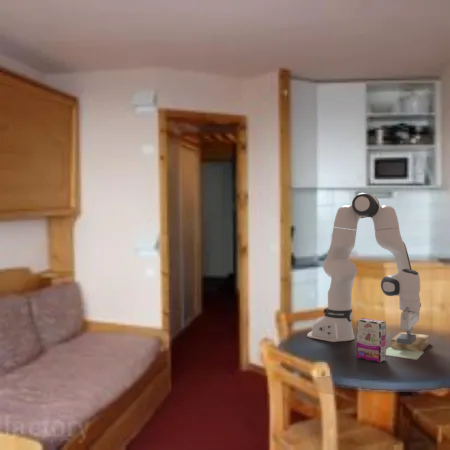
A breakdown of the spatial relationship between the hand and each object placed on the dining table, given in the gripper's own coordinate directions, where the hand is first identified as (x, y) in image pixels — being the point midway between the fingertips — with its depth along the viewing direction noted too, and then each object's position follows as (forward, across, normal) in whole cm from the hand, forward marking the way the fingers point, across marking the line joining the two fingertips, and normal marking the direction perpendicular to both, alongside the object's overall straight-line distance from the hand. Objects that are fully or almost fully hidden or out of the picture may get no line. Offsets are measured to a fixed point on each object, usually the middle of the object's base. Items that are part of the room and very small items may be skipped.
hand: (409, 336), depth 248 cm
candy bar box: (+5, -27, +9) cm, 29 cm away
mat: (+5, -12, 0) cm, 13 cm away
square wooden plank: (+5, +2, 0) cm, 5 cm away
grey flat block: (+1, -6, 0) cm, 6 cm away
